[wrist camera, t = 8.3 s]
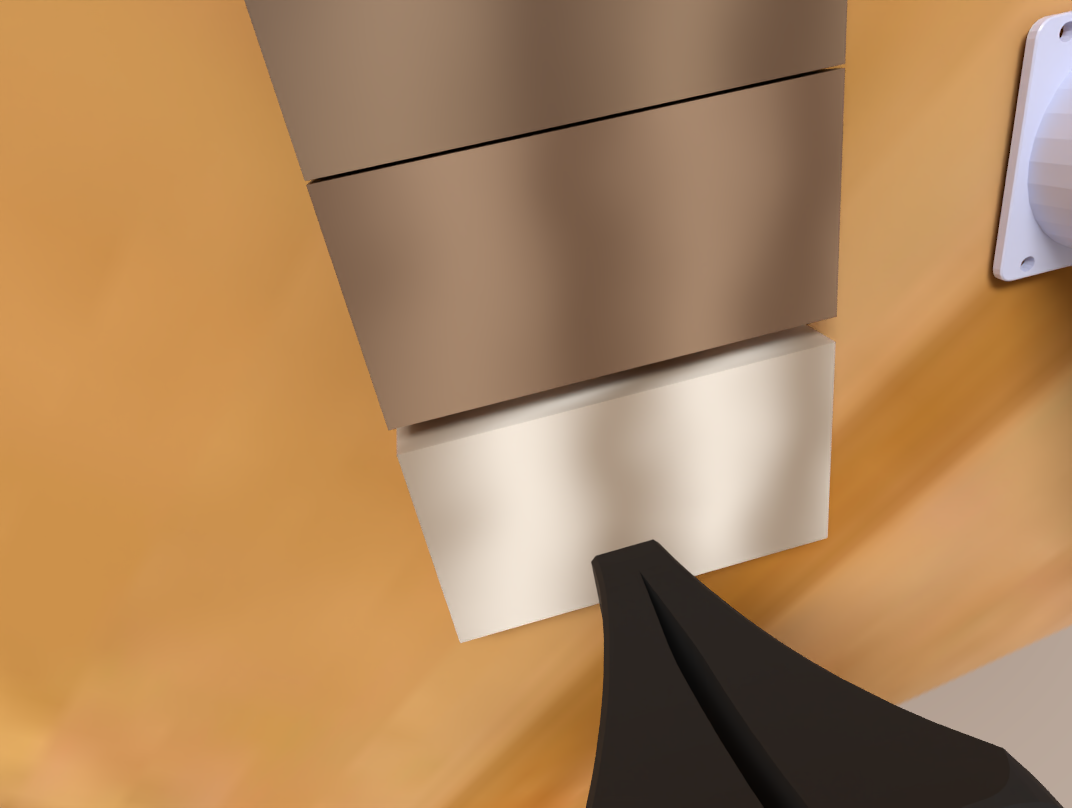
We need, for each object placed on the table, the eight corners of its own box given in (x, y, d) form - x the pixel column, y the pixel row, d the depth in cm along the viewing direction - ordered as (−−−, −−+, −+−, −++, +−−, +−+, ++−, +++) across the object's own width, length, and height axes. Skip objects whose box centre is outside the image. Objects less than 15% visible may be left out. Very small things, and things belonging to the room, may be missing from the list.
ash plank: (800, 321, 22) (835, 342, 20) (797, 506, 26) (827, 537, 24) (396, 423, 21) (396, 455, 19) (455, 602, 25) (460, 642, 23)
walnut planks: (804, -257, 15) (857, -303, 14) (800, 298, 22) (836, 316, 20) (207, -156, 14) (179, -192, 12) (389, 401, 20) (388, 430, 19)
